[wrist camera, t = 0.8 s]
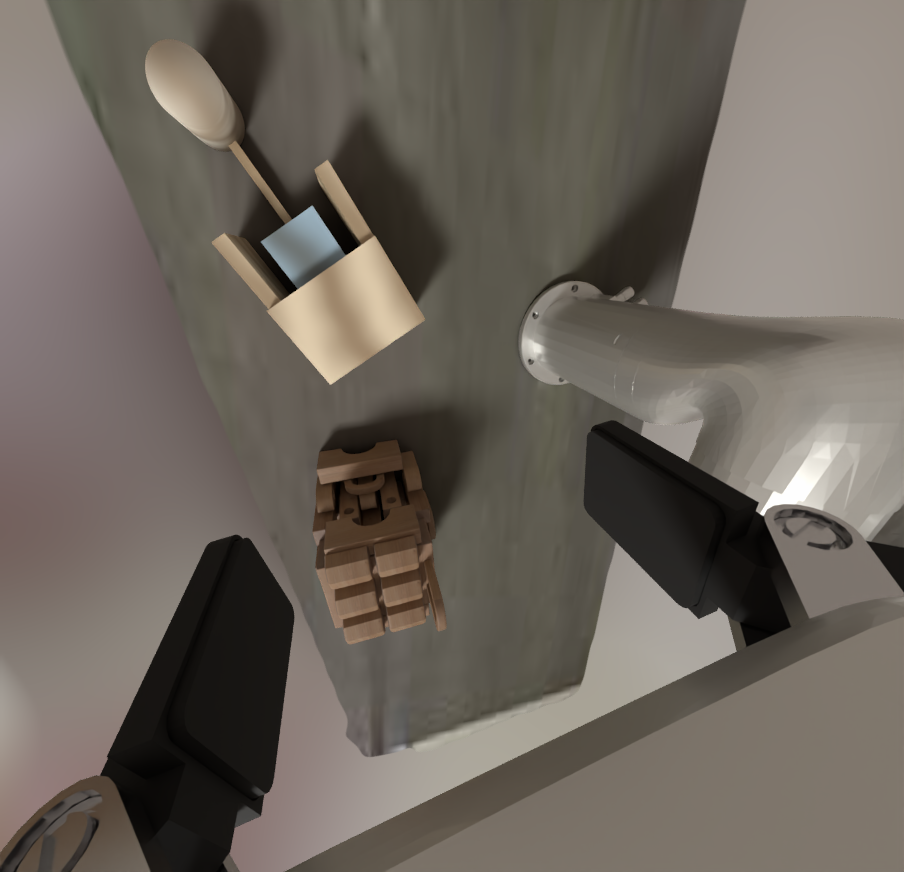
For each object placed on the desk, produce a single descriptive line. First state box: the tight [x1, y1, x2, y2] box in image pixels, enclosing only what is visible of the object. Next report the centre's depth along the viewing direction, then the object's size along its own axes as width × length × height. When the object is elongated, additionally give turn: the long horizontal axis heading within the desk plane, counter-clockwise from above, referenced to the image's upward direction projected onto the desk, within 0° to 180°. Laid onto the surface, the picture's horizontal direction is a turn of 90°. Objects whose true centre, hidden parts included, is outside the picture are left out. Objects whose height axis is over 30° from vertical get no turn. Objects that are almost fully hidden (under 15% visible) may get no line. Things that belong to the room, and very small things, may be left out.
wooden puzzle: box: [313, 440, 446, 644], centre depth 39 cm, size 22×15×19 cm, turn 2°
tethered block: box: [145, 39, 346, 289], centre depth 27 cm, size 5×18×6 cm, turn 30°
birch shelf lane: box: [212, 160, 425, 385], centre depth 30 cm, size 11×13×7 cm
